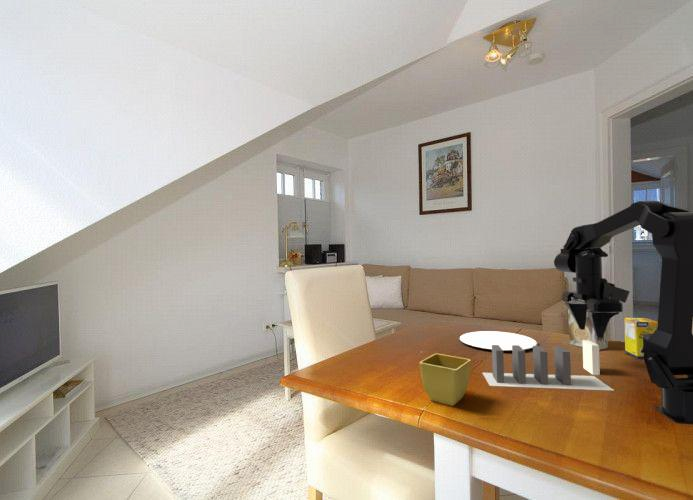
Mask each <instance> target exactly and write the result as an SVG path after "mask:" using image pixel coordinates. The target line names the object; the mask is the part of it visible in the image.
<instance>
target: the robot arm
mask: <svg viewBox="0 0 693 500" xmlns="http://www.w3.org/2000/svg"><path fill="white" fill-rule="evenodd" d="M639 226H640V227H641V229H642V230H645V231H646V232H648V233H650V234H651V237H652V245H653V246H654V248H655V249H656V251H657V252H658V254H659V255H660V257H661V269H660V270H661V271H660V282H659V283H660V284H659V285H660V286H659V298H658V314H657V315H658V316H657V317H658V318H657V322H658V327H657V329H656V330H655V332H654V333H653V334H644V336H643V349H642V351H641V353H644V359H643V360H644V364H645V368H646V370H647V374H648V377H649V380H650V382H651V383H652V384H655V385H656V387H658V388H660V389H661V405H662V406H653V409H654V410H656V411H657V412H659V413H661V414H662V415H663V416H665V417H666V418H668V419H669V420H671V421H672V422H674V423H675V424H680V425H681V424H683V425H684V424H685V425H693V211H692V210H688V209H684V208H681V207H677V206H676V207H675V206H672V205H668V204H666V203H664V202H662V201H659V200H638V201H635V202H632V203H631V204H630V206H627V207H626V208H624V209H621V210H620V211H617V212H615V213H614V214H612V215H610V216H607V217H605V218H604V219H602V220H600V221H597V222H595V223H590V224H584V225H579V226H576V227H575V226H574V228H572V229H571V231H570V233H569V236H568V238H567V239H566V242H565V243H564V244H563V246H562V248H560V252H559V253H558V254H556V256H555V257H554V259H553V265H554V267H555V269H556V270H557V271H560V272H562V273H572V274H575V277H572V282H575V287H576V289H575V290H571V291H570V290H568V291H565V292H563V293H562V302H564V304H565V305H566V307H567V310H568V309H569V310H570V312H571V314H572V316H573V317H574V319H575V321H576V323H577V325H578V327H579V329H581V330H584V329H585V324H586V314H587V312H588V315H589V318H590V320H591V323H592V326H593V328H594V331H595V333H596V336H597V337H598V338H603V336H604V333H605V330H606V327H607V328H608V325H609V322H610V320H611V319H612V318H613V317H615V316H616V315H619V314H620V313H623V311H624V307H623V305H624V304H626V302H627V300H628V297H629V295H630V290H626V289H624V288H621V287H618V286H616V284H614V283H611V282H608V280H607V278H603V264H602V263H603V261H602V259H603V258H607V257H608V256H609V254H608V253H607V252H606V251H604V250H603V249H602V248H603V247H604V246H606V245H607V244H609V243H610V242H611V241H612V238H613V237H615V236H618V235H619V234H621V233H622V234H623V233H624V232H627V231H629V230H632V229H634V228H636V227H639ZM587 309H589V310H591V311H587ZM676 376H687V377H676Z"/></svg>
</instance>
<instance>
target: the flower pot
mask: <svg viewBox="0 0 693 500" xmlns="http://www.w3.org/2000/svg"><path fill="white" fill-rule="evenodd" d="M471 365H472V360H471V359H470V358H465V357H460V356H453V355H448V354H443V353H437V352H436V353H434V354H432V355H429V356H427V357H426V358H424V359H423V360H421V361H420V362H419V369H420V376H421V380H422V381H421V382H422V386H423V389H424V392H425V393H426V394H427V397H429V399H430V400H431V401H432V402H435V403H438V404H443V405H447V406H450V407H454V406H455V405H456V404H457V403H458V402H459V401H461V400H462V399H463V397H464V396H465V394H466V392H467V389H468V386H469V383H470V377H471V376H470V375H471V374H470V373H471Z"/></svg>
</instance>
